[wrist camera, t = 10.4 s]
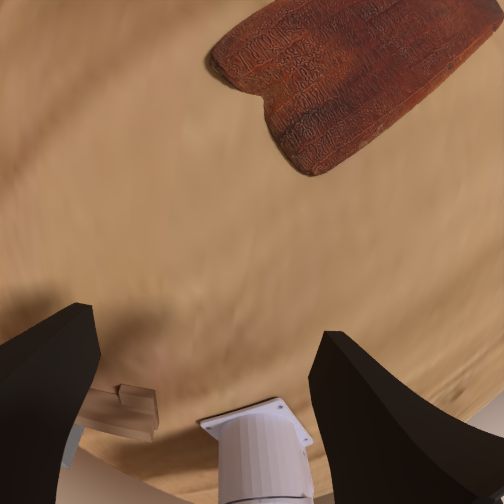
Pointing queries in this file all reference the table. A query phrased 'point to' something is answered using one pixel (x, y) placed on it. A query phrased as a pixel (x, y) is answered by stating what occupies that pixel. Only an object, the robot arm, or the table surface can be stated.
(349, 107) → the wooden tablet
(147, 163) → the table surface
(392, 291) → the table surface
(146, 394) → the walnut slotted stand
